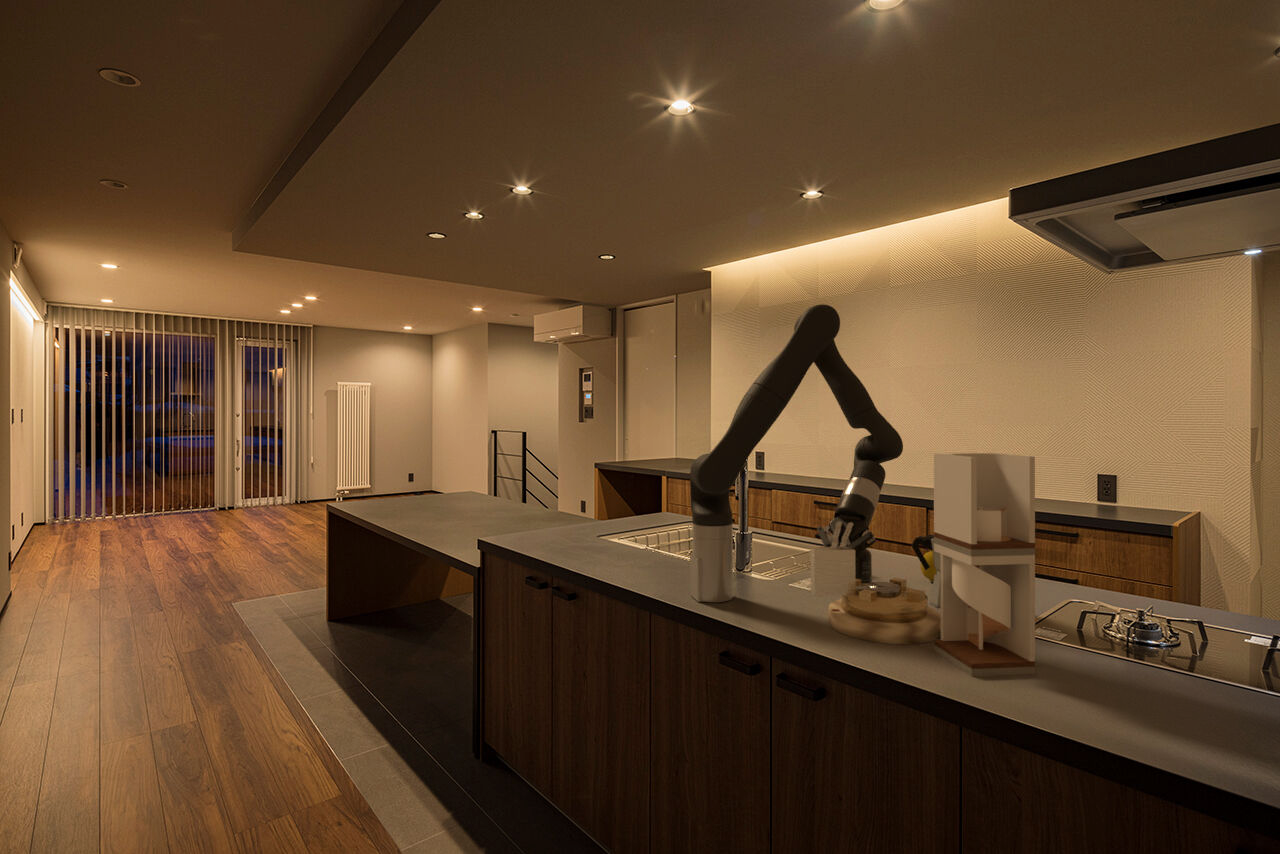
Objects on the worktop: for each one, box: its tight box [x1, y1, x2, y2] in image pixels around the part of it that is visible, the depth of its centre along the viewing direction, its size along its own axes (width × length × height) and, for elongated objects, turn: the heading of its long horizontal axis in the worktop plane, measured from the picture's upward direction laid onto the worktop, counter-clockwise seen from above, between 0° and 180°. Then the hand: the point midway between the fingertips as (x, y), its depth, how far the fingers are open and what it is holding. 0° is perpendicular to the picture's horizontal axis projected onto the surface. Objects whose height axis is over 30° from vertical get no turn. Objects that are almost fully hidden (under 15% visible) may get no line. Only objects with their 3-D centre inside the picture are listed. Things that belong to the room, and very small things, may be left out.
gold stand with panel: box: [810, 546, 929, 622], centre depth 130 cm, size 22×16×12 cm
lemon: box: [920, 550, 937, 583], centre depth 164 cm, size 6×6×8 cm
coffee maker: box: [911, 534, 941, 609], centre depth 144 cm, size 15×9×18 cm, turn 47°
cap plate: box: [828, 598, 941, 645], centre depth 130 cm, size 21×21×3 cm
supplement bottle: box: [855, 548, 873, 584], centre depth 160 cm, size 7×7×12 cm
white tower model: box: [933, 452, 1036, 677], centre depth 110 cm, size 11×11×35 cm
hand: (832, 568), depth 134 cm, fingers closed
